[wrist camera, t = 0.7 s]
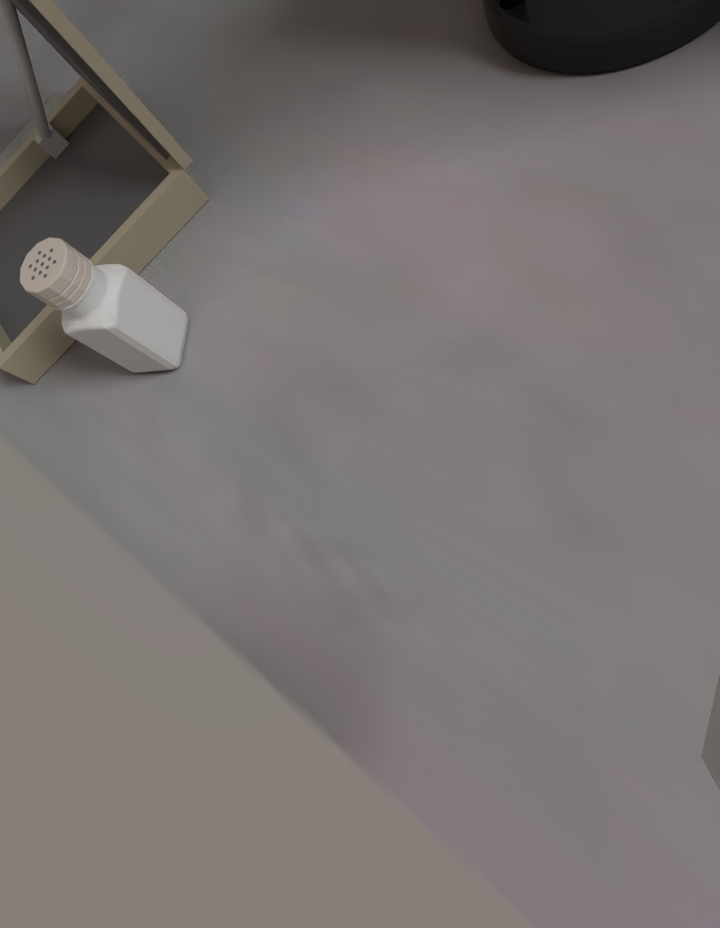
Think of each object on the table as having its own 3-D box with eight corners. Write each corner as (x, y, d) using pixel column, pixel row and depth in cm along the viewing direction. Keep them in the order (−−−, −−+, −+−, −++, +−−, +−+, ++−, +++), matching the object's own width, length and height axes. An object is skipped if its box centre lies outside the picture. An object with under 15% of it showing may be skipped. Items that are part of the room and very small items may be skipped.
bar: (69, 108, 53) (53, 93, 52) (76, 116, 53) (61, 101, 51) (-27, 217, 54) (-45, 205, 53) (-21, 226, 54) (-39, 214, 52)
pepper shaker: (193, 314, 41) (80, 223, 33) (183, 372, 40) (63, 294, 32) (143, 320, 43) (22, 235, 34) (132, 376, 42) (5, 303, 33)
